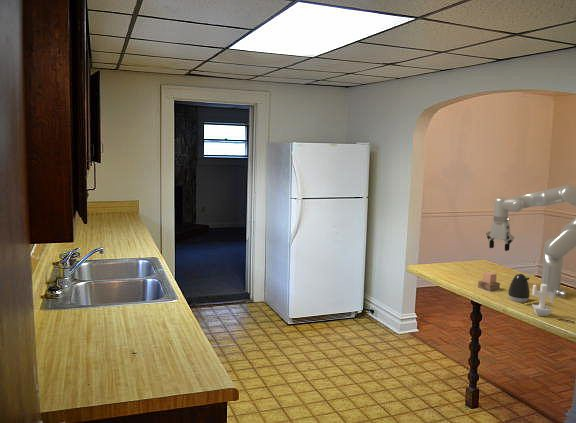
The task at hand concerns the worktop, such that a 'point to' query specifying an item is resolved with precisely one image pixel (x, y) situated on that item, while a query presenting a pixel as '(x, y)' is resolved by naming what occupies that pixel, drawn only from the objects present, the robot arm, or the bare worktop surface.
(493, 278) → the top cube
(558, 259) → the robot arm
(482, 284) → the base block
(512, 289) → the black penguin toy
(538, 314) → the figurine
